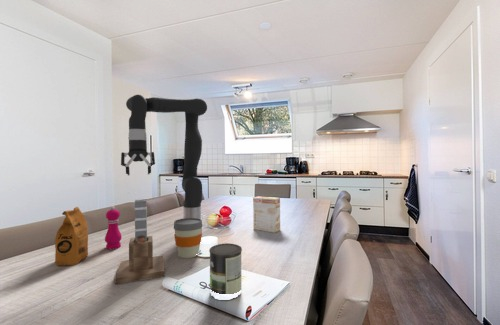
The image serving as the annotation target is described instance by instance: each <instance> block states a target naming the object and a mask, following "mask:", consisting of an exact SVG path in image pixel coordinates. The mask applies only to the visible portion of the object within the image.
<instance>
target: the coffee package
mask: <svg viewBox="0 0 500 325" xmlns="http://www.w3.org/2000/svg"><path fill="white" fill-rule="evenodd" d="M61 214H62V216H65V217H64V219H63V222H62V224H61V225H60V226H59V228H58V230H57V231H56V233H55V237H54V238H55V239H54V245H55V246H54V248H55V255H54V256H55V257H54V258H55V259H54V260H55V261H54V263H55V264H56V266H58V267H60V266H74V265H78V264H79V263H80V262H81V261H84V260H86V258H87V256H88V255H89V230H88V229H89V228H88V223H87V219H86V217H85V215H84V214H83V212H82V211H81V210H80V208H79V206H75V207H74V208H73V209H72V210H65V211H64V210H63V212H62V213H61Z"/></svg>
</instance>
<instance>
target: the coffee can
mask: <svg viewBox="0 0 500 325" xmlns="http://www.w3.org/2000/svg"><path fill="white" fill-rule="evenodd" d="M242 252H243V248H242V246H241V245H239V244H236V243H226V242H225V243H219V244H214V245H213V246H211V247H209V290H210V289H211V290H212V291H214V292H216V293H219V294H234V293H237V292H239V291H240V290H242Z"/></svg>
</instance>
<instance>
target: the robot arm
mask: <svg viewBox="0 0 500 325" xmlns="http://www.w3.org/2000/svg"><path fill="white" fill-rule="evenodd" d="M125 105H126V108H127V109H128V110H129V111H130V113H131V114H130V117H129V119H128V152H123V151H122V152H121V154H120V155H121V156H120V158H121V159H120V165H121V167H125V174H126V175H127V176H130V174H131V173H130V165H131V164H132V163H133V162H135V163H136V162H145V164H146V165H147V175H150V174H151V173H152V166H154V165H155V164H156V162H155V152H154V151H152V152H151V151H149V152H148V149H147V148H148V143H147V141H148V140H147V131H146V129H147V128H146V118H147V113H151V112H152V113H160V114H161V113H163V114H165V113H166V114H167V113H184V115H185V116H184V117H185V129H184V132H185V134H184V149H183V150H184V153H183V155H184V156H183V172H182V173H183V174H182V179H181V189H182V190H183V191H184V201H183V203H182V204H183V209H182V210H183V218H182V219H184V218H198V219H201V220H202V201H203V182H202V180H201V179H200V178H199V177H198V165H199V163H200V160H201V155H202V148H203V147H202V146H203V139H202V136H201V134H200V130H199V117H200V116H203V115H204V114H206V112H207V110H208V105H207V102H206V101H205V100H204V99H202V98H192V99H177V98H176V99H175V98H166V97H154V96H152V97H149V98H146V97H145V96H144V95H141V94H134V95H133V96H130V97H129V98H128V99H127V100H126V103H125ZM127 156H128V157H129V158H130V159H129V160H128V161H127V162H126V161H125V160H126V159H125V158H127ZM148 156H149V157H150V158H151V162H150V161H148V159H147V157H148ZM125 162H126V163H125ZM201 232H202V233H203V227H202V228H201ZM201 237H202V238H203V235H202V236H201Z"/></svg>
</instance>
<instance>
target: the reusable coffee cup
mask: <svg viewBox="0 0 500 325" xmlns="http://www.w3.org/2000/svg"><path fill="white" fill-rule="evenodd" d="M202 221H203V220H202V218H201V219H198V218H184V219H183V218H179V219H175V220H174V223H173V230H174V242H175V243H174V244H175V246H176V248H177V255H178V257H179V258H182V259H190V258H194V257H196V256H195V255H196V254H198V253H199V252H200V246H201V245H200V244H201V243H202V239H201V236H202V237H203V231H202V232H201V228H202V229H203V222H202ZM200 242H201V243H200ZM198 255H199V254H198Z"/></svg>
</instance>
